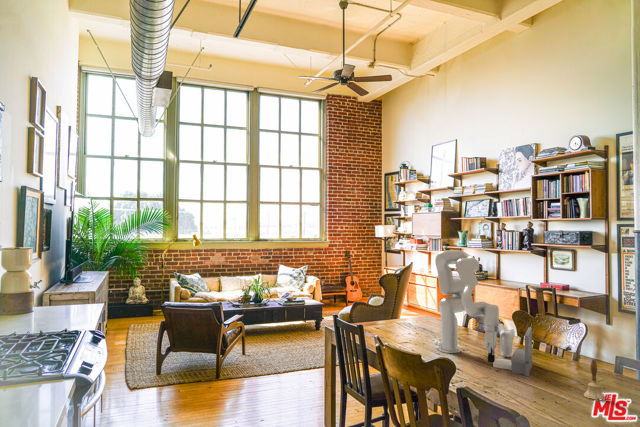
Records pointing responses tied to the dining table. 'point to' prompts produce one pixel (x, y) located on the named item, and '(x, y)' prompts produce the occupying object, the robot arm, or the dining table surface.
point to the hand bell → (594, 385)
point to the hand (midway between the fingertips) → (491, 362)
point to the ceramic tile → (502, 363)
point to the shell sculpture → (506, 340)
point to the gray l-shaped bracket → (523, 356)
